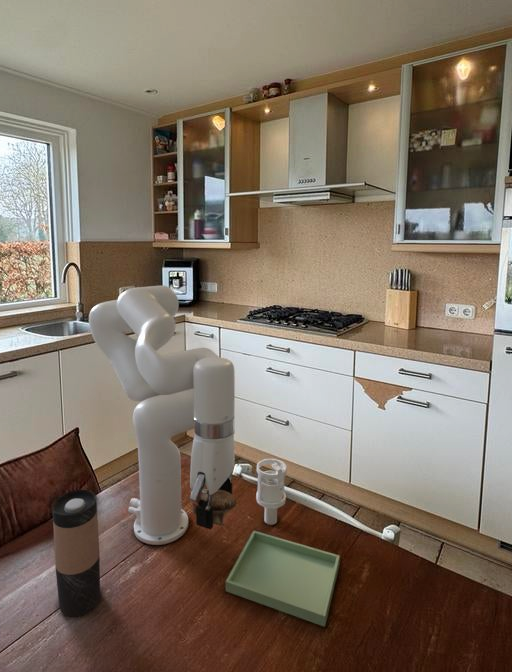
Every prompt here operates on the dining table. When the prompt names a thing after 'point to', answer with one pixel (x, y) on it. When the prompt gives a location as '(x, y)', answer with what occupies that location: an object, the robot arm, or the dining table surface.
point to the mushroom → (219, 505)
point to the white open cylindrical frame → (271, 489)
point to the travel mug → (76, 552)
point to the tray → (285, 577)
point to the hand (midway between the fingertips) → (214, 512)
